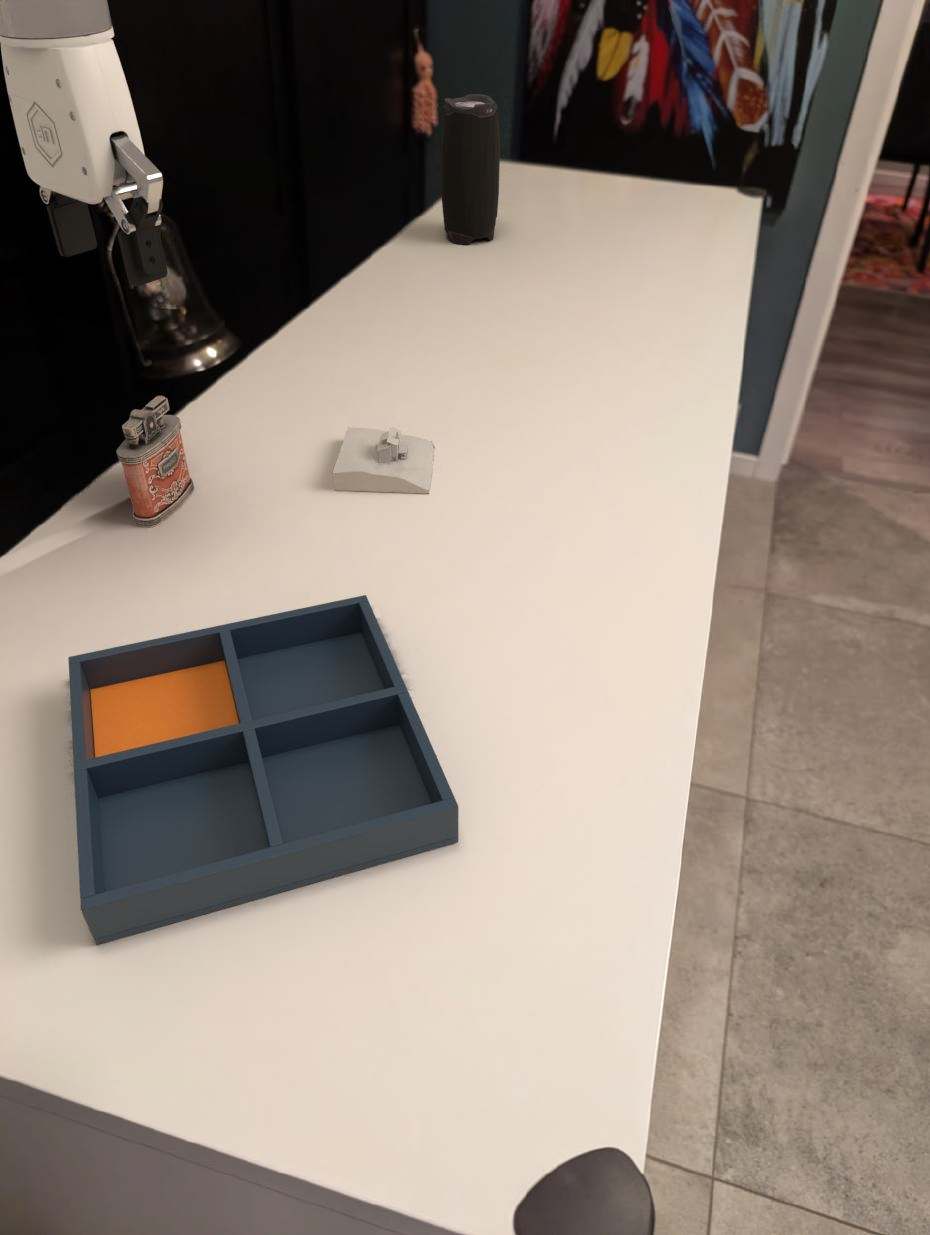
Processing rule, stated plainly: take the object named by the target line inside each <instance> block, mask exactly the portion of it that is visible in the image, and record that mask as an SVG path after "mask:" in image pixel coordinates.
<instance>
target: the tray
mask: <svg viewBox="0 0 930 1235" xmlns="http://www.w3.org/2000/svg"><path fill="white" fill-rule="evenodd" d="M67 661H68V677H69V678H68V679H69V696H70V697H69V700H70V718H71V720H70V721H71V737H72V738H71V739H72V759H73V776H74V777H73V781H74V782H73V783H74V798H75V799H74V800H75V802H74V803H75V820H76V842H77V860H78V862H77V863H78V880H79V881H78V882H79V883H78V884H79V901H80V902H79V903H80V912H81V914H82V917H83V919H84V921H85V923H86V925H87V927H88V930H89V932H90V934H91V937H92V939H93V941H94V944H95V945H96V946H97V945H98V946H99V945H102V944H105V943H108V942H111V941H116V940H119V939H123V938H127V937H130V936H133V935H137V934H140V933H144V932H147V931H151V930H155V929H159V928H161V927H165V926H168V925H171V924H175V923H180V922H183V921H185V920H189V919H194V918H197V917H200V916H203V915H207V914H211V913H214V912H218V911H222V910H225V909H227V908H232V907H235V906H238V905H242V904H245V903H249V902H253V901H256V900H260V899H263V898H268V897H270V896H274V895H277V894H281V893H284V892H288V891H291V890H295V889H298V888H301V887H302V888H303V887H305V886H309V885H312V884H316V883H319V882H322V881H327V880H330V879H334V878H337V877H341V876H344V875H348V874H352V873H355V872H358V871H362V870H365V869H369V868H373V867H376V866H379V865H384V864H387V863H389V862H390V863H391V862H393V861H397V860H401V859H404V858H407V857H411V856H415V855H418V854H422V853H426V852H428V851H432V850H435V849H439V848H443V847H447V846H449V845H454V844H457V843H459V804H458V802H457V800H456V798H455V795H454V792H453V791H452V789H451V788H452V787H451V786H450V784H449V782H448V778H447V777H446V774H445V773H444V770H443V767H442V765H441V763H440V761H439V759H438V756H437V754H436V752H435V749H434V747H433V745H432V743H431V740H430V738H429V736H428V733H427V731H426V729H425V727H424V724H423V722H422V720H421V718H420V715H419V713H418V711H417V708H416V706H415V703H414V701H413V699H412V697H411V695H410V692H409V690H408V688H407V686H406V683H405V681H404V678H403V676H402V674H401V672H400V669H399V668H398V665H397V662H396V661H395V657H394V655H393V653H392V651H391V648H390V647H389V644H388V643H387V640H386V637H385V635H384V633H383V630H382V628H381V626H380V624H379V621H378V619H377V617H376V615H375V612H374V610H373V607H372V605H371V603H370V602H369V599H368V596H367V595H366V594H364V595H359V596H355V597H354V596H353V597H349V598H345V599H344V598H343V599H340V600H336V601H330V602H325V603H320V604H315V605H312V606H311V605H310V606H307V607H306V606H305V607H301V608H297V609H292V610H288V611H287V610H286V611H282V612H278V613H272V614H268V615H263V616H258V617H253V618H248V619H244V620H239V621H234V622H229V623H225V624H220V625H215V626H210V627H205V628H201V629H196V630H195V629H194V630H190V631H186V632H181V633H176V634H172V635H167V636H162V637H158V638H157V637H156V638H153V639H147V640H143V641H139V642H134V643H129V644H124V645H119V646H114V647H110V648H109V647H108V648H105V649H99V650H95V651H90V652H86V653H81V654H76V655H71V656H68V658H67Z"/></svg>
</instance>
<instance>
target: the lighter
mask: <svg viewBox="0 0 930 1235" xmlns="http://www.w3.org/2000/svg"><path fill="white" fill-rule="evenodd" d="M144 406H145V407H143V408H142V409H136V408H133V410H131V412H130V413H129V418H128V420H127V421H126V422H125V423H124V424H122V425H121V428H122V432H123V436H124V437H125V438H124V440H123V441H122V443H120V444H119V446H118V447H117V449H116V456H117V459H118V462H120V463H121V466H122V470H123V474H124V478H125V482H126V485H127V490H128V494H129V496H130V500H131V505H132V509H133V511H132V517H133V521H134V524H135V525H136V526H138V527H141V528H153V527H157V526H158V525H160V524H162V523H163V522H164V521H166V520H167V519H169V518H171V516H173V515H174V514H175V513H176V512H177V511H178V510H179V509H181V508H182V507H183V505H184V504H185V503H186V502H187V501H188V500H189V498H190V497H191V496H192V494H193V492H194V490H195V485H194V481H193V479H192V478H191V477H190V476H191V475H190V471H189V467H188V462H187V457H186V452H185V448H184V443H183V436H182V433H181V429H182V423H181V418H180V417H179V416H177V415H173V414H166V413H167V412H169V411H170V405H169V400H168V398H167V397H165V396H163V395H156V396H155V397H154V398H153V399H152V400H150V401H149V402H148V403H147V404H145V405H144Z"/></svg>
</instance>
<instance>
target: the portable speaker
mask: <svg viewBox="0 0 930 1235" xmlns="http://www.w3.org/2000/svg"><path fill="white" fill-rule="evenodd" d="M498 110H499V109H498V103H497V102H495V101H494V100H493V98H492V97H491V96H490V95H486V94H483V93H482V94H480V93H473V94H472V93H471V94H466V95H464V96H460V97H456V98H451V97H446V98H444V104H443V111H444V112H443V121H442V127H441V128H442V129H441V136H440V197H441V208H442V216H443V227H444V228H443V229H444V231H445V234H446V237H447V240H448V241H450V242H452V243H454V244H459V245H465V246H466V245H467V246H469V245H470V244H472V242H473V241H474V240H479V239H484V238H485V239H486V240H487V241H493V240H494V238H495V230H496V229H495V227H496V223H497V218H498V210H499V196H500V195H499V194H500V167H501V166H500V165H501V163H500V162H501V135H500V122H499V121H500V120H499V111H498Z"/></svg>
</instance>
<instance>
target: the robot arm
mask: <svg viewBox="0 0 930 1235" xmlns="http://www.w3.org/2000/svg"><path fill="white" fill-rule="evenodd" d="M114 37H115V32H114V27H113V22H112V18H111V12H110V7H109V3H108V0H0V52H1V53H0V54H1V60H2V67H3V74H4V80H5V84H6V85H5V86H6V91H7V95H8V100H9V105H10V109H11V113H12V114H11V115H12V118H13V123H14V128H15V131H16V136H17V140H18V144H19V147H20V152H21V155H22V159H23V162H24V167H25V170H26V173H27V175H28V177H29V178H30V179H31V181H33V182H34V183H35V184H36V185H39V195H40V198H41V200H42V202H43V203H44V204H46V210H47V215H48V218H49V222H50V226H51V228H52V233H53V236H54V239H55V244H56V247H57V251H58V253H59V254H58V255H59V256H62V257H64V258H70V257H73V256H76V255H80V254H83V253H87V252H90V251H93V250H96V249H97V248H98V241H97V237H96V234H95V228H94V225H93V221H92V218H91V213H90V209H89V206H88V205H96V204H97V205H98V204H100V203H102V201H103V200H104V201H105V203H106V204H107V206H108V208H109V210H110V212H111V213H112V215H113V216H114V218H115V220H116V221H117V223H118V225H119V226H120V228H121V230H120V231H118V232H116V234H117V240H118V243H119V247H120V251H121V256H122V260H123V266H124V269H125V273H126V277H127V282H128V284H129V285H131V286H133V287H136V288H138V287H141V286H143V285H147V284H149V283H152V282H156V281H158V280H162V279H165V278H166V277H168V272H169V271H168V267H167V262H166V257H165V252H164V247H163V243H162V237H161V232H160V228H159V226H160V225H161V224H162V217H161V213H162V210H163V208H164V203H163V199H162V196H163V187H164V177H163V174H162V172H161V171H160V170H159V169H158V167H156V165H155V164H154V163H153V162H152V161H151V160H150V159H149V158H148V157H147V156H146V154H145V149H144V144H143V140H142V136H141V131H140V127H139V124H138V120H137V119H138V118H137V116H136V115H137V114H136V111H135V108H134V104H133V100H132V97H131V92H130V89H129V86H128V83H127V79H126V76H125V72H124V70H123V66H122V62H121V60H120V57H119V54H118V51H117V48H116V45H115V43H114V40H113V39H112V38H114ZM131 198H133V199H132V200H133V201H132V203H131V205H130V208H129V210H128V209H127V207H126V205H125V204H124V202H123V201H124V200H129V199H131Z"/></svg>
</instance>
